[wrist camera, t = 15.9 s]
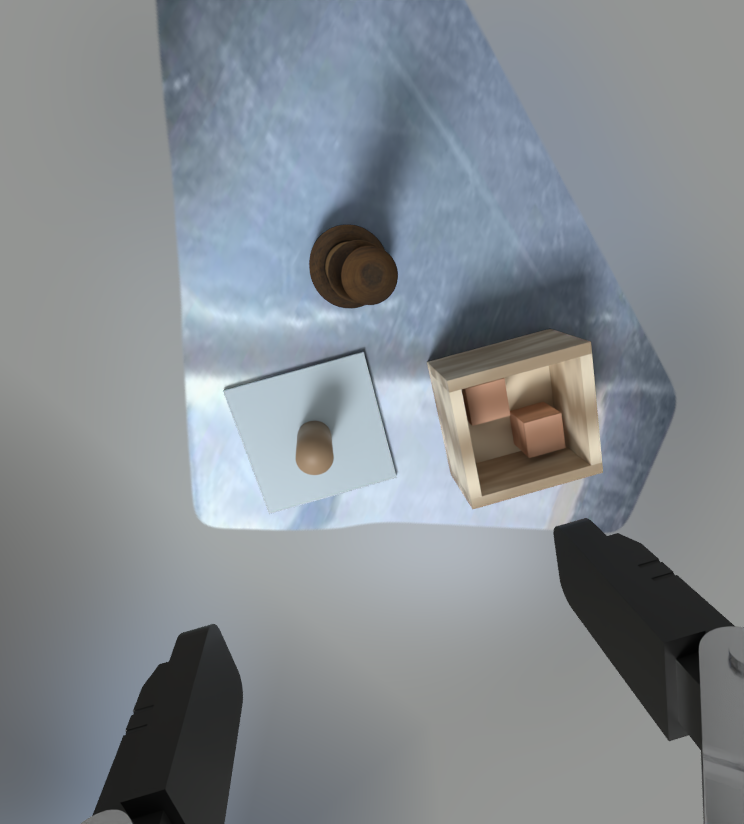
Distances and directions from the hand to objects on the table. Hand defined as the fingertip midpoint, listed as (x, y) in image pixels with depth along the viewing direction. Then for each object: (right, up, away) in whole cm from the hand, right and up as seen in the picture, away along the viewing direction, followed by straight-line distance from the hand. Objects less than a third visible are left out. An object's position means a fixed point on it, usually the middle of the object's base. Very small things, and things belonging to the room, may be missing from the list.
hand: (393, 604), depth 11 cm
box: (+12, +5, +36) cm, 38 cm away
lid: (-6, +2, +35) cm, 36 cm away
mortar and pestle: (-3, +17, +31) cm, 35 cm away
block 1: (+9, +6, +34) cm, 36 cm away
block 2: (+15, +3, +36) cm, 39 cm away
